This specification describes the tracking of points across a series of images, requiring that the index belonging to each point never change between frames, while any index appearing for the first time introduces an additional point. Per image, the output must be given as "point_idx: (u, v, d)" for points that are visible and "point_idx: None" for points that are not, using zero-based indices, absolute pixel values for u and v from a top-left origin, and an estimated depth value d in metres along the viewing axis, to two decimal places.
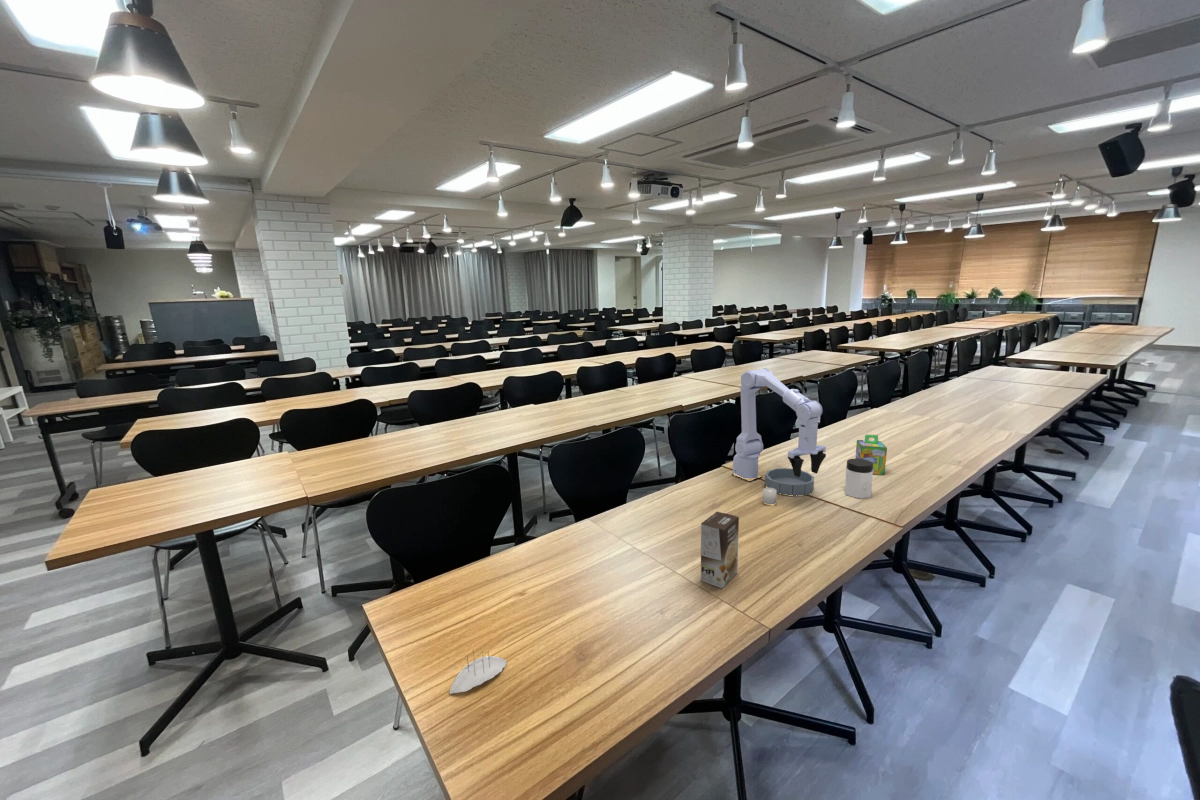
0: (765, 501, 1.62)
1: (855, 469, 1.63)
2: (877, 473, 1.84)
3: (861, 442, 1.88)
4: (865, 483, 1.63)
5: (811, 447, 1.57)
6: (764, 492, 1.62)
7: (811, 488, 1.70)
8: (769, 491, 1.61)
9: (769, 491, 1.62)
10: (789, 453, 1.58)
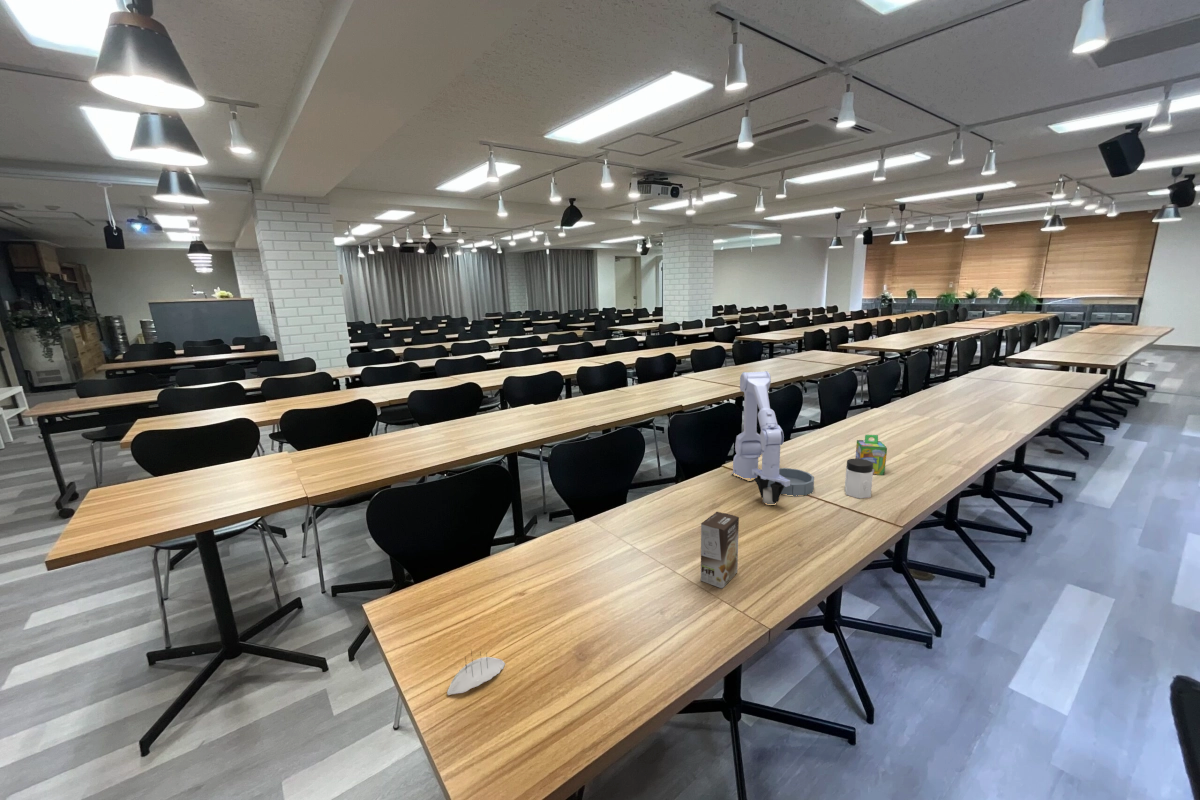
0: (765, 501, 1.62)
1: (855, 469, 1.63)
2: (877, 473, 1.84)
3: (861, 442, 1.88)
4: (865, 483, 1.63)
5: (763, 471, 1.60)
6: (764, 492, 1.62)
7: (811, 488, 1.70)
8: (769, 491, 1.61)
9: (769, 491, 1.62)
10: None
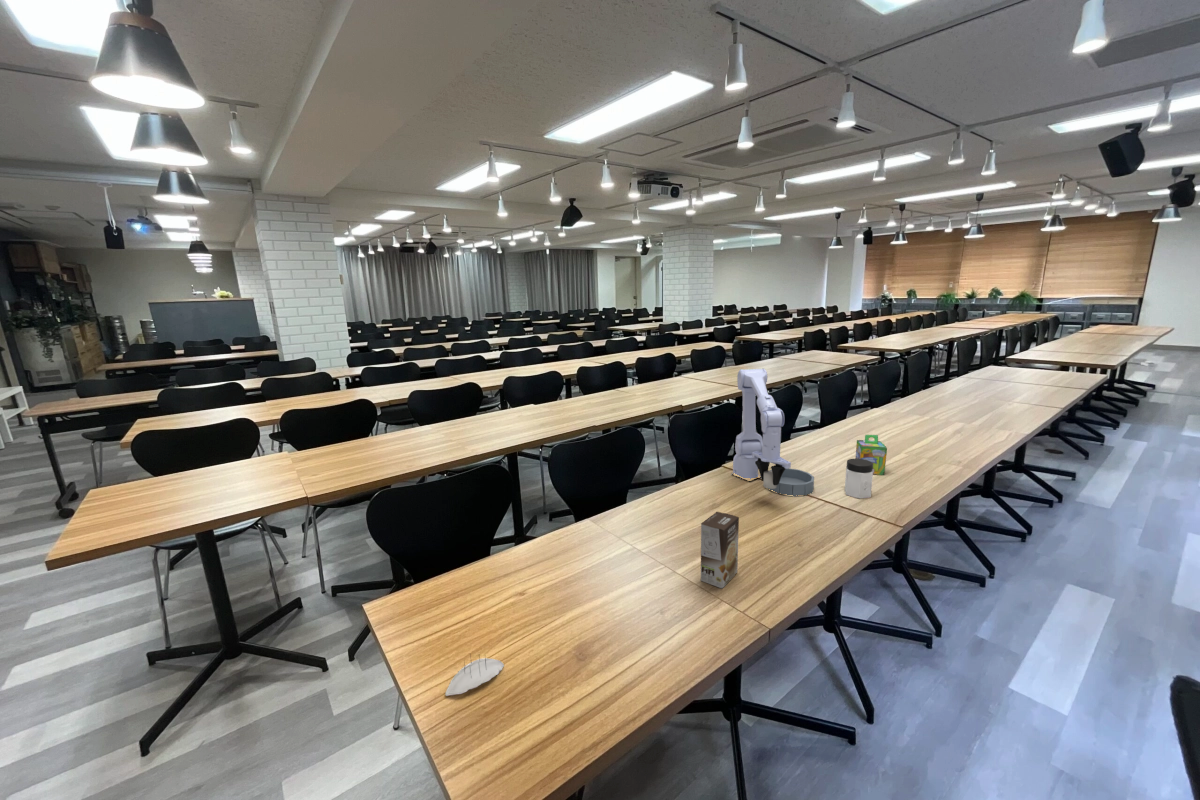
0: (766, 484, 1.61)
1: (855, 469, 1.63)
2: (877, 473, 1.84)
3: (861, 442, 1.88)
4: (865, 483, 1.63)
5: (763, 453, 1.59)
6: (765, 475, 1.61)
7: (811, 488, 1.70)
8: (770, 474, 1.60)
9: (770, 473, 1.60)
10: None
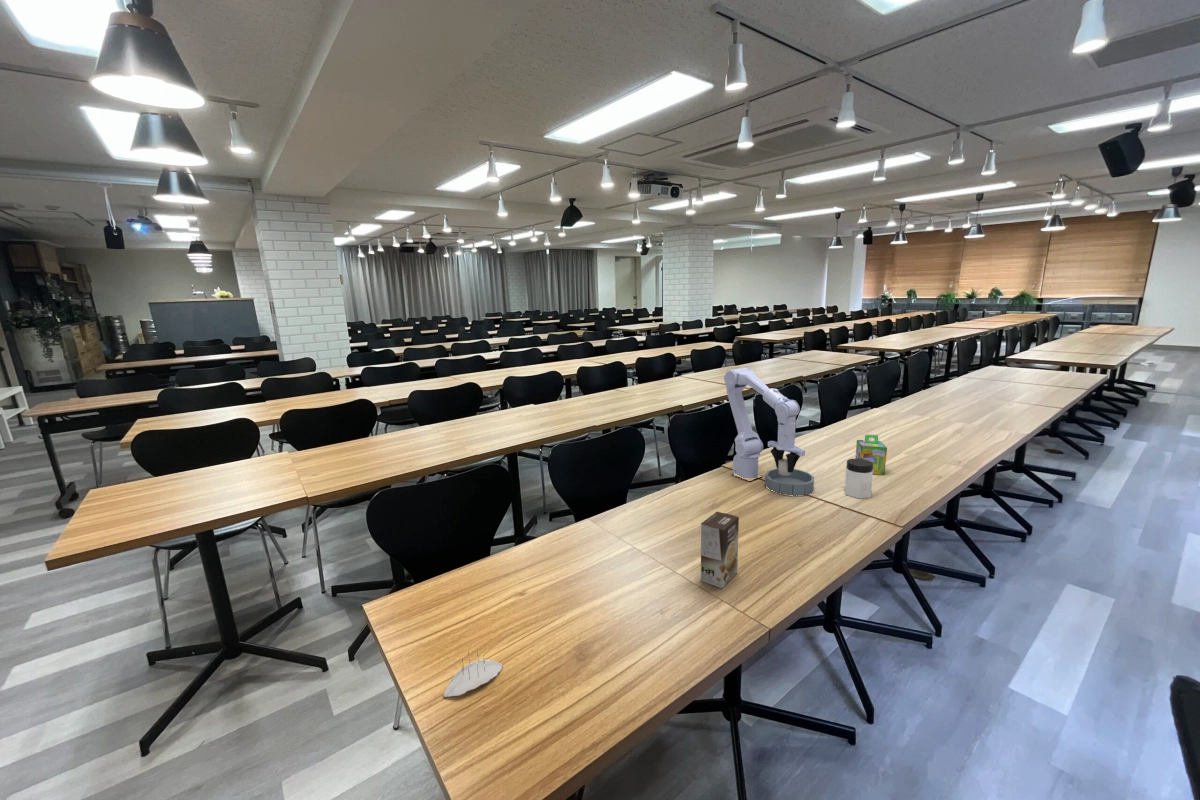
0: (781, 471, 1.70)
1: (855, 469, 1.63)
2: (877, 473, 1.84)
3: (861, 442, 1.88)
4: (865, 483, 1.63)
5: (779, 442, 1.68)
6: (780, 463, 1.70)
7: (811, 488, 1.70)
8: (784, 461, 1.69)
9: (785, 461, 1.69)
10: None
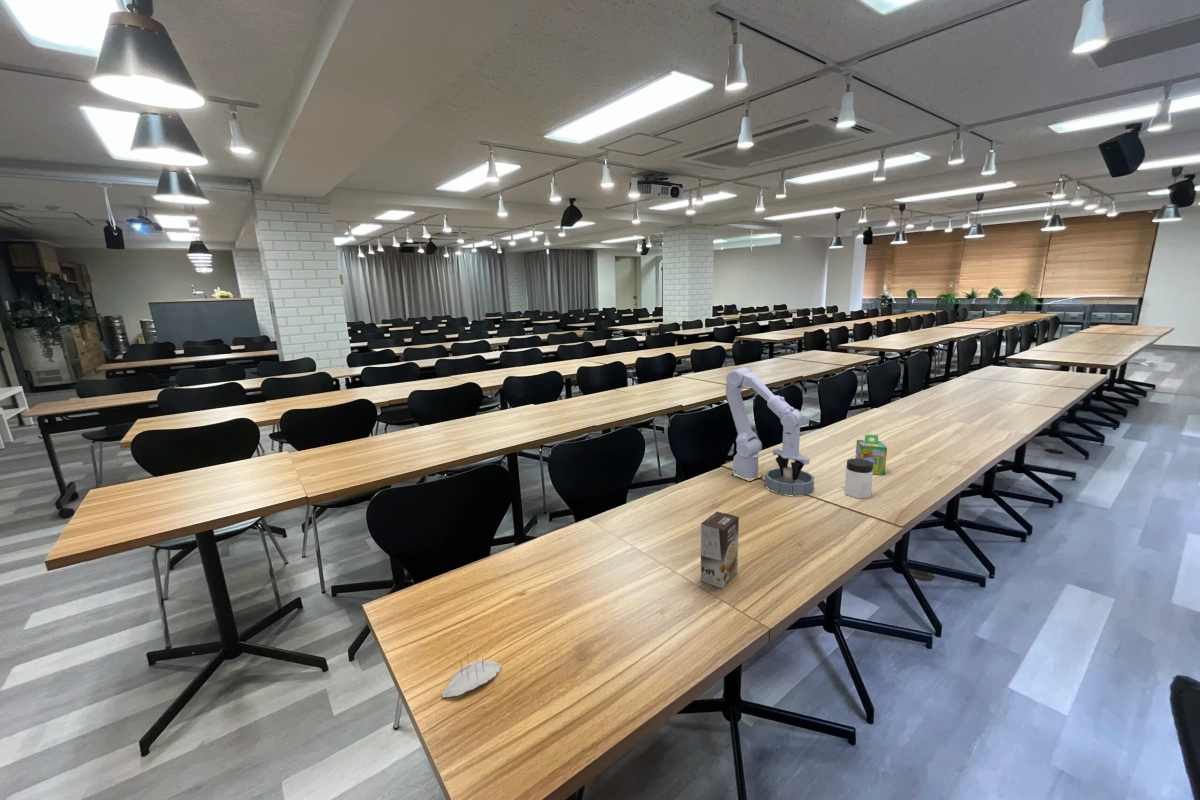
0: (785, 479, 1.74)
1: (855, 469, 1.63)
2: (877, 473, 1.84)
3: (861, 442, 1.88)
4: (865, 483, 1.63)
5: (783, 450, 1.73)
6: (784, 470, 1.74)
7: (811, 488, 1.70)
8: (789, 469, 1.74)
9: (790, 469, 1.74)
10: None
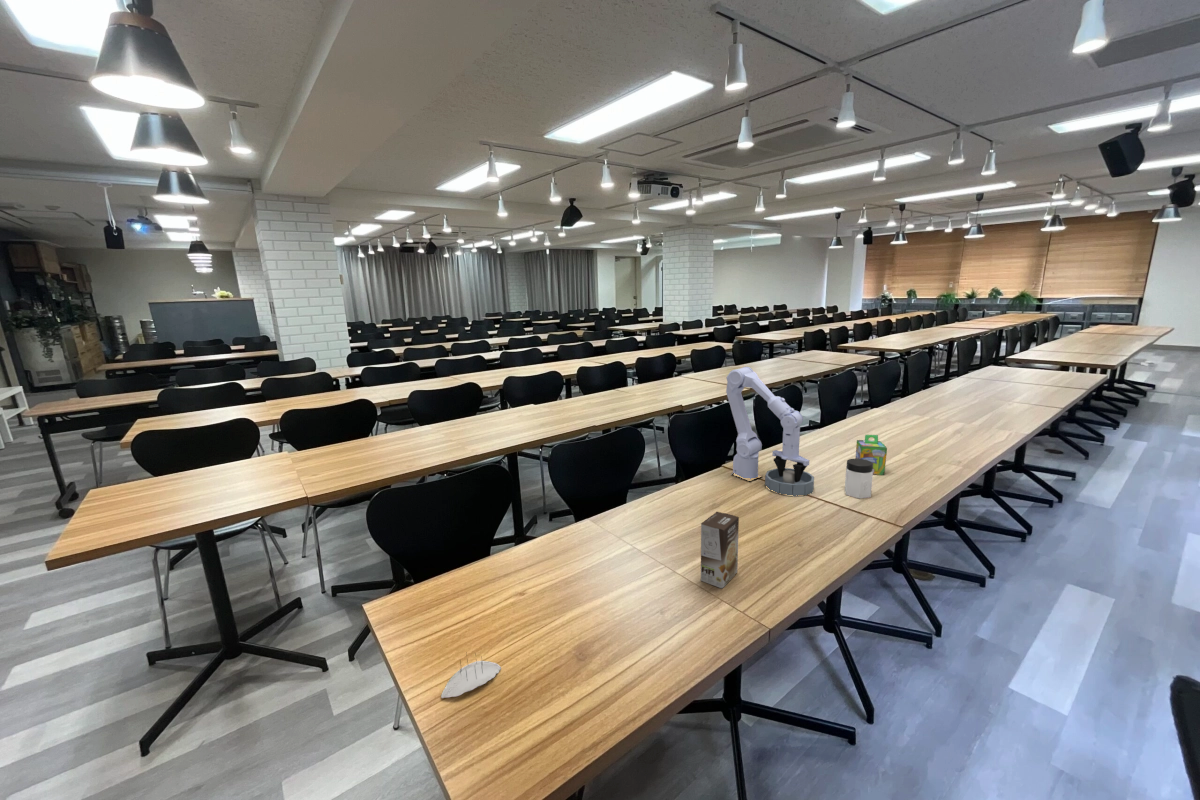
0: (785, 482, 1.75)
1: (855, 469, 1.63)
2: (877, 473, 1.84)
3: (861, 442, 1.88)
4: (865, 483, 1.63)
5: (783, 452, 1.73)
6: (784, 474, 1.75)
7: (811, 488, 1.70)
8: (789, 473, 1.74)
9: (789, 473, 1.74)
10: None
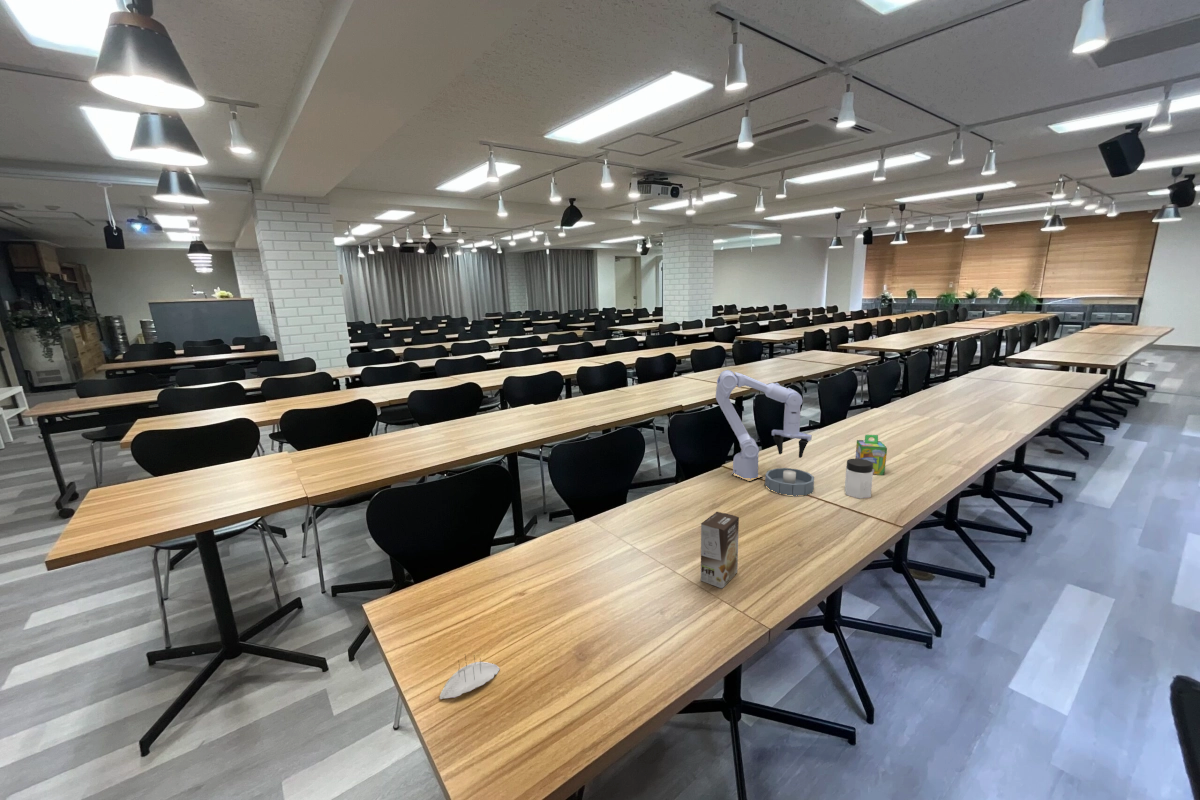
0: (785, 482, 1.75)
1: (855, 469, 1.63)
2: (877, 473, 1.84)
3: (861, 442, 1.88)
4: (865, 483, 1.63)
5: (786, 430, 1.79)
6: (784, 474, 1.75)
7: (811, 488, 1.70)
8: (789, 473, 1.74)
9: (789, 473, 1.74)
10: None
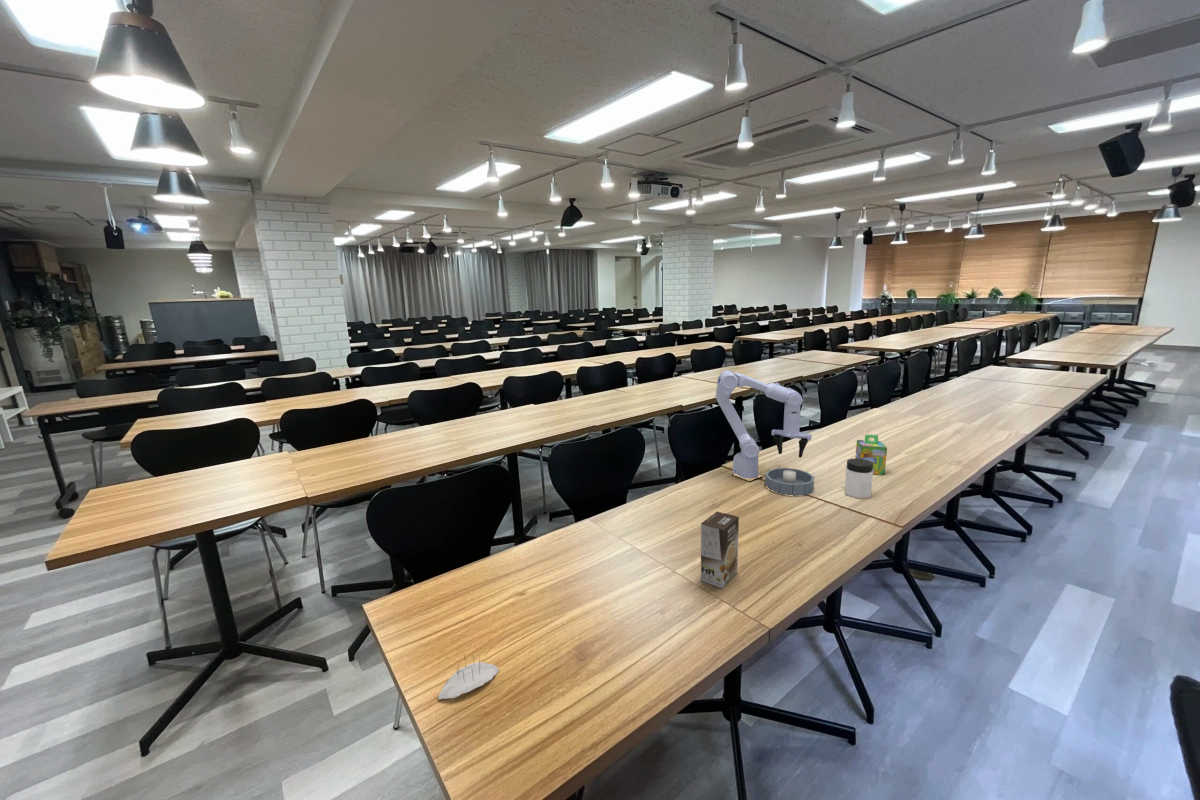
0: (785, 482, 1.75)
1: (855, 469, 1.63)
2: (877, 473, 1.84)
3: (861, 442, 1.88)
4: (865, 483, 1.63)
5: (786, 430, 1.80)
6: (784, 474, 1.75)
7: (811, 488, 1.70)
8: (789, 473, 1.74)
9: (789, 473, 1.74)
10: None
